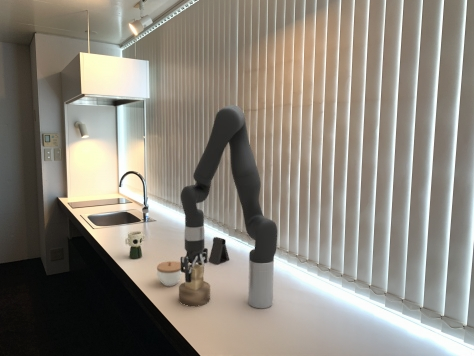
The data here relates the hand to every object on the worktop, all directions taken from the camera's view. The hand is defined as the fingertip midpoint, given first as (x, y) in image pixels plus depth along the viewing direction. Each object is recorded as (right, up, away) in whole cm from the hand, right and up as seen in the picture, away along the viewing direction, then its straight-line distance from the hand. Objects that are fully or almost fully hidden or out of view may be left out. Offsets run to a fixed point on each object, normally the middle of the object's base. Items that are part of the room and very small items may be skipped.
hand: (194, 278), depth 135 cm
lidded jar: (-12, -7, +15) cm, 21 cm away
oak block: (0, -3, 0) cm, 3 cm away
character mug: (-36, -2, +46) cm, 58 cm away
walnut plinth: (0, -8, +1) cm, 8 cm away
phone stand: (+7, -3, +42) cm, 43 cm away
